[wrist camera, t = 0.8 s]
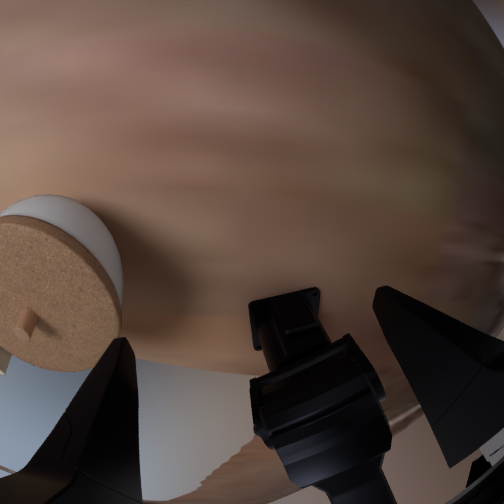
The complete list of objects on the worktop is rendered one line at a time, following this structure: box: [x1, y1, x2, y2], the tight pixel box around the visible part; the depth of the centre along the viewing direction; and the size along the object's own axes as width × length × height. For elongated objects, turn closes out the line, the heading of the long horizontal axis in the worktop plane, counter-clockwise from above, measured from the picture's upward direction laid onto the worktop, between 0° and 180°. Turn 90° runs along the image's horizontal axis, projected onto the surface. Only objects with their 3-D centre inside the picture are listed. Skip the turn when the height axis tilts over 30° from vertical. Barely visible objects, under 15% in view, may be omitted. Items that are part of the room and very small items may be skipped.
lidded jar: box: [0, 194, 123, 372], centre depth 15 cm, size 11×11×9 cm
